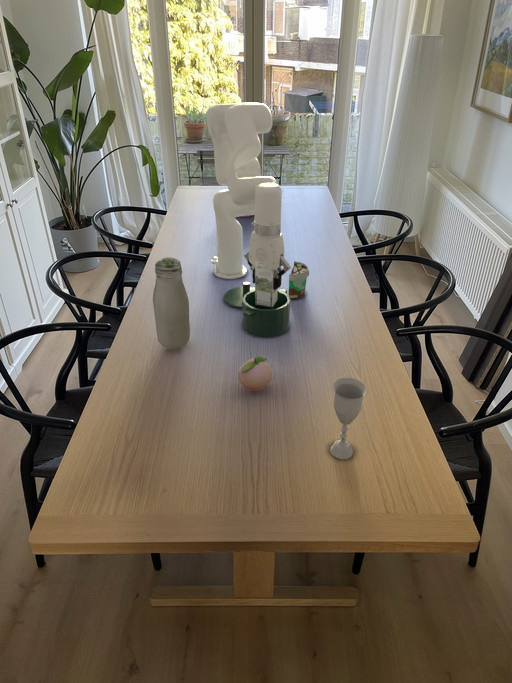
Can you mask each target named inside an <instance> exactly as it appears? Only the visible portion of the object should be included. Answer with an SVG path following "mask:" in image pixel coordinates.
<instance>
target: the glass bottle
mask: <svg viewBox="0 0 512 683" xmlns="http://www.w3.org/2000/svg"><path fill="white" fill-rule="evenodd" d="M182 269H183V268H182V264H181V261H180V260H179V259H177V258H176V257H172V256H171V257H170V256H166V257H162V258H160V259H158V260H157V261H156V262H155V264H154V272H155V283H154V288H153V293H152V303H153V304H152V305H153V313H154V322H155V330H156V337H157V340H158V341H157V342H158V343H159V344H160V345H161V346H162V347H163V348H164V349H166V350H173V351H174V350H179V349H182V348H184V347H186V346H187V344H188V343H189V341H190V338H191V324H190V323H191V322H190V301H189V296H188V292H187V289H186V287H185V284H184V281H183V276H182V275H183V270H182Z"/></svg>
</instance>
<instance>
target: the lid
mask: <svg viewBox="0 0 512 683" xmlns="http://www.w3.org/2000/svg"><path fill="white" fill-rule="evenodd" d="M241 284H242V286H237V287H233V288H230V289H228V290H227V291H226V292H225V293H224V294H223V301H224V302H225V303H226V304H227V305H228V306H230V307H234V308H236V309H243V297H244V295H245V294H247V293H248V292H250V291H253V290H255V286H251V282H249V281H243V282H242V283H241Z"/></svg>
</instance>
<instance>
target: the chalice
mask: <svg viewBox="0 0 512 683" xmlns="http://www.w3.org/2000/svg"><path fill="white" fill-rule="evenodd" d="M332 386H333V390H334V399H333V409H334V411H335V415H336V416H337V419H338V420H339V422H340V423H341V424H342V426H341V427H340V430H341V432H340V433H339V437H340V439H337V440H335V441H334V443H333V444H332V445H331V447H330V453H331V455H332V456H333V457H335V458H337V459H340V460H348V459H350V458H351V457H352V456H353V451H354V450H353V449H352V446H351V443H350V442H349V441H348V440H346V438H347V437H348V436H349V435H348V433H347V432H348V431H349V428H348V425H351V424H352V423H353V422H354V421H355V419H356V418H357V417H358V416H359V414H360V413H361V410H362V405H363V399H364V396H365V395H366V393H367V387H366V385H365V384H364V383H363V382H362V381H361V380H359V379H357V378H354V377H341V378H338V379H337V380H335V381H334V383H333V385H332Z"/></svg>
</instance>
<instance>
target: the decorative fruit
mask: <svg viewBox="0 0 512 683" xmlns="http://www.w3.org/2000/svg"><path fill="white" fill-rule="evenodd" d="M272 378H273V368H272V366H271V365H270V363H269V362H268V361H267V357H266V356H262V355H260V356H256V357H252V358H249V359H248V360H247V361H246V363H244V364H243V365H241V366H240V367H239V369H238V372H237V380H238V382H239V384H240V385H241V386H242V387H243V388H244V389H245V390H248V391H250V392H257V391H260V390H263V389H265V388H266V387H267V386H268V385H269V384H270V383H271V382H272Z"/></svg>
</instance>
